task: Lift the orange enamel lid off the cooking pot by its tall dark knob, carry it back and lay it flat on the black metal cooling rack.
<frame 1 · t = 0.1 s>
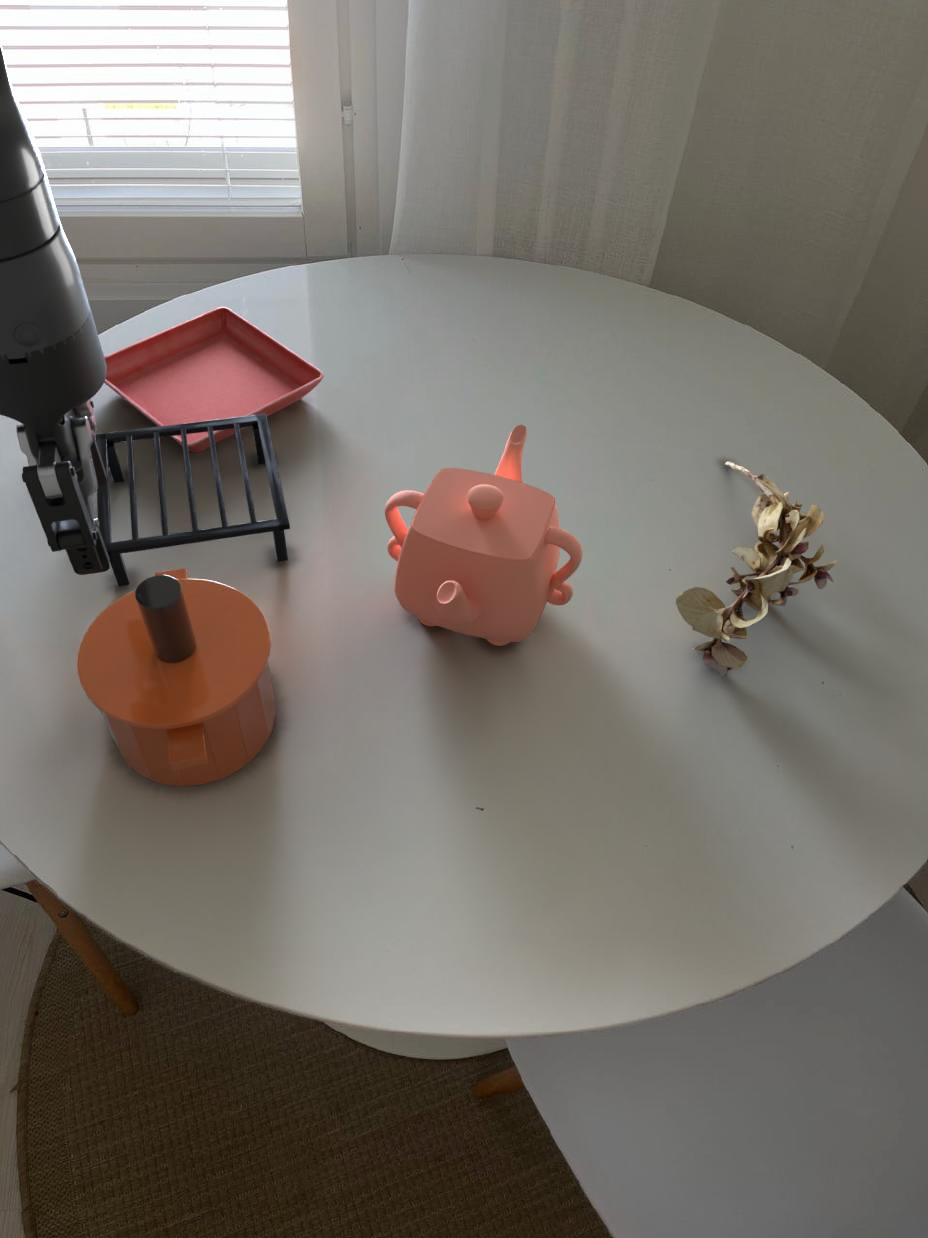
hand: (92, 525, 62), 17 cm above the table, tool pointing down, fingers open, 8 cm apart
lid: (176, 651, 65), point 8 cm above the table, touching pot
artificial flower: (743, 568, 86), on the table
plant saucer: (211, 396, 99), on the table
teapot: (475, 602, 82), on the table
pot: (196, 717, 72), on the table
rack: (198, 517, 86), on the table
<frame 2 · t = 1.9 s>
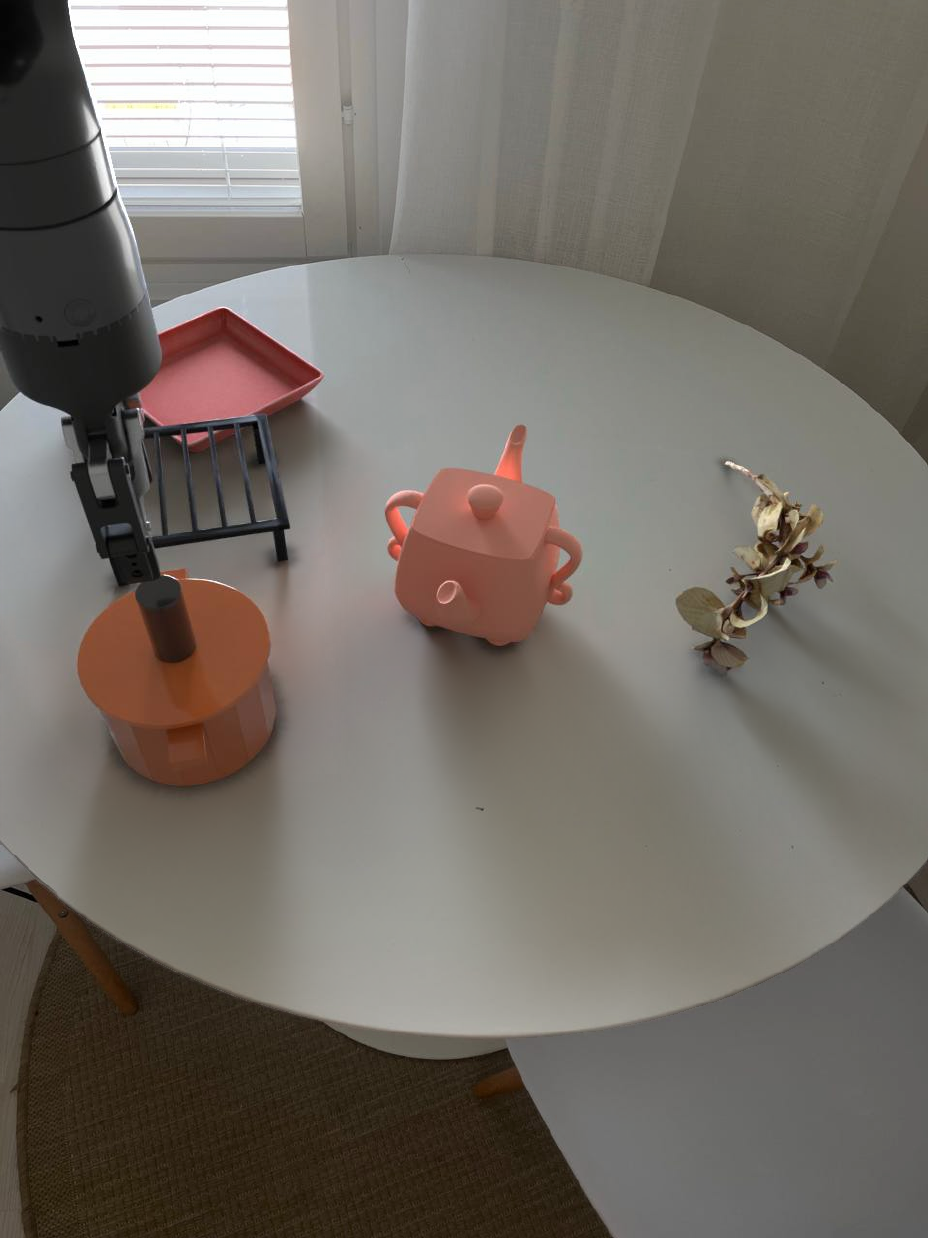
hand: (139, 528, 56), 21 cm above the table, tool pointing down, fingers open, 8 cm apart
nothing on the table moved.
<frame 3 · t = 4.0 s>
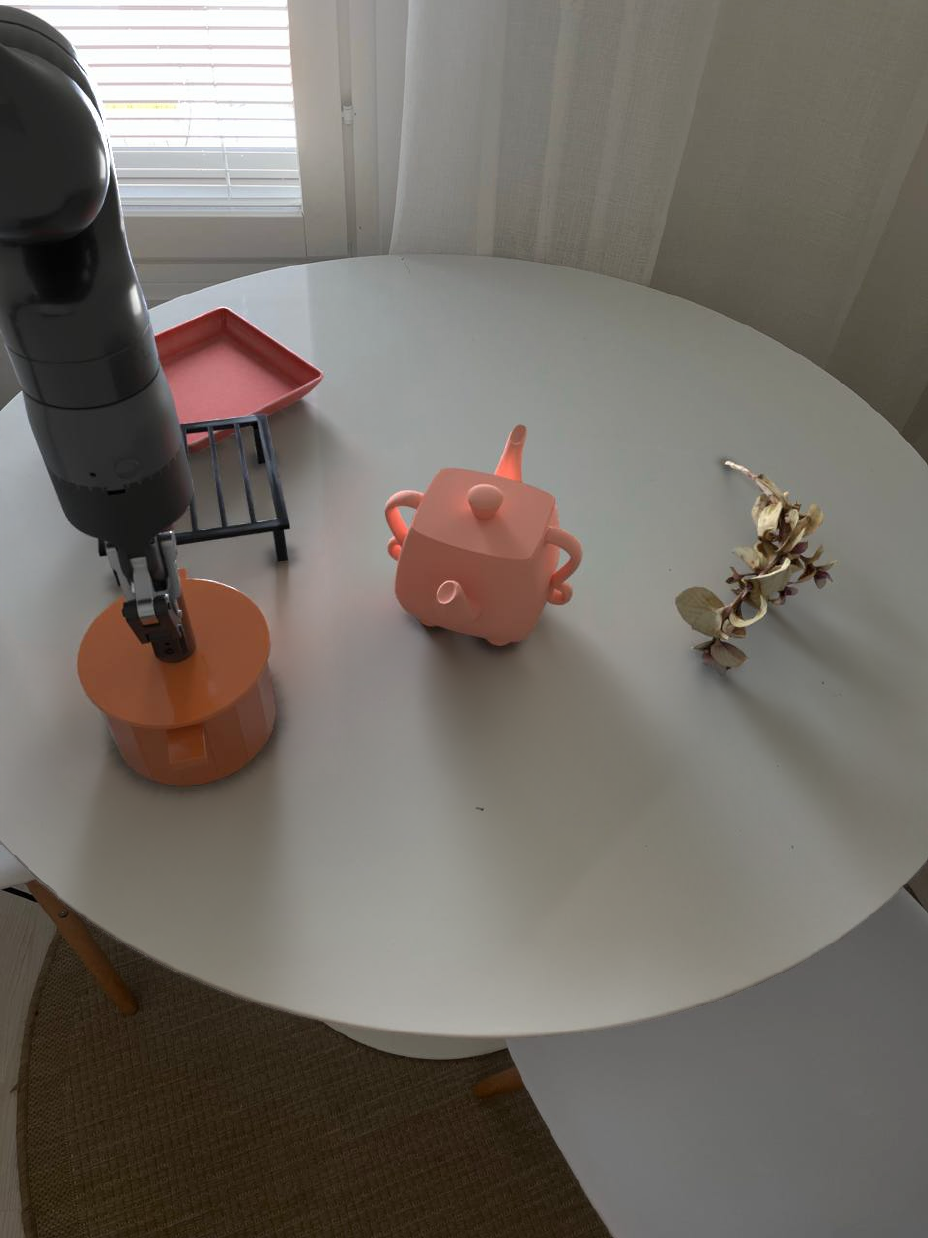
hand: (170, 632, 64), 11 cm above the table, tool pointing down, fingers closed on lid, 3 cm apart
lid: (176, 651, 65), point 9 cm above the table, touching gripper, pot
everything else where it was.
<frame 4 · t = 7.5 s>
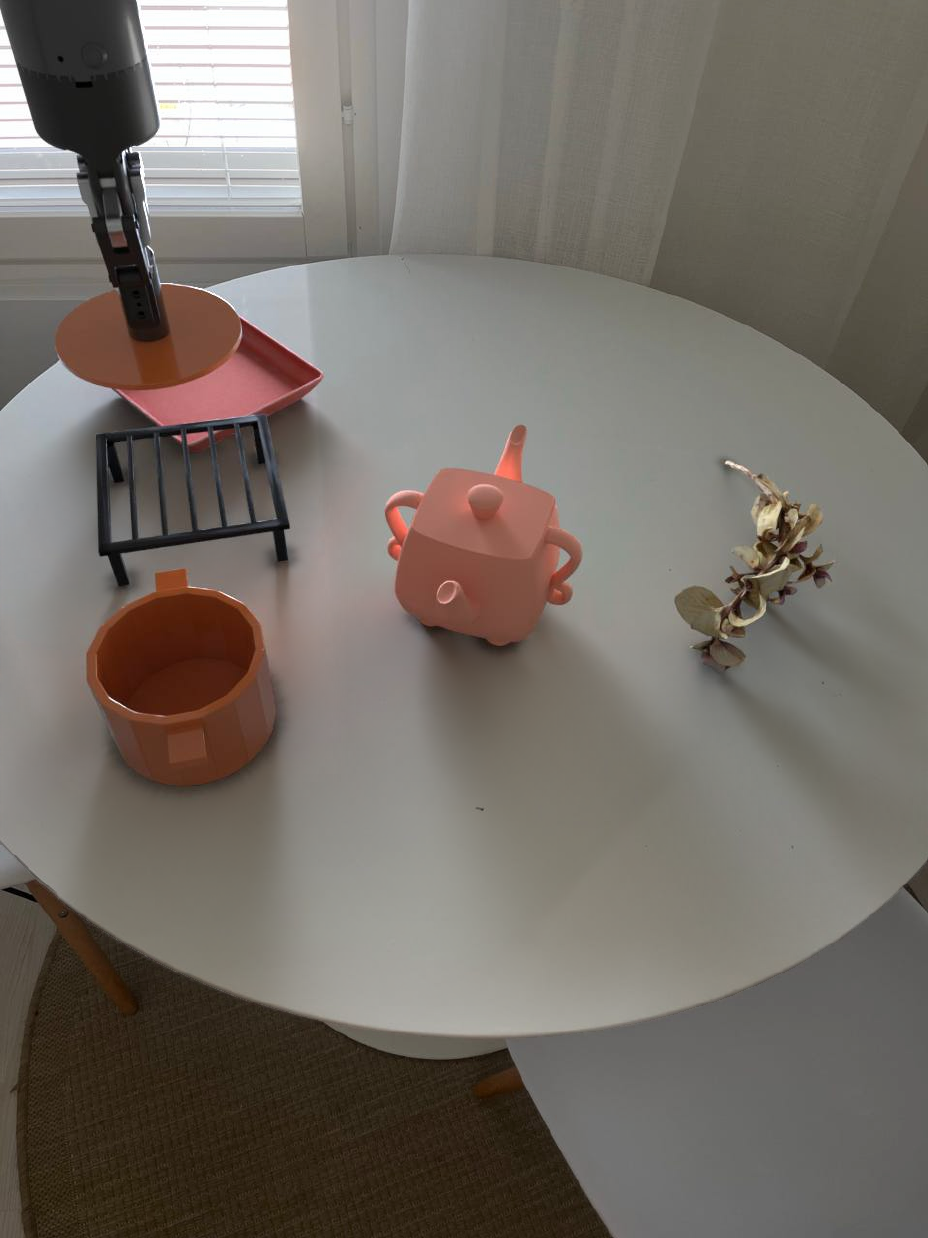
hand: (144, 310, 66), 24 cm above the table, tool pointing down, fingers closed on lid, 3 cm apart
lid: (150, 336, 68), point 22 cm above the table, touching gripper
everything else where it was.
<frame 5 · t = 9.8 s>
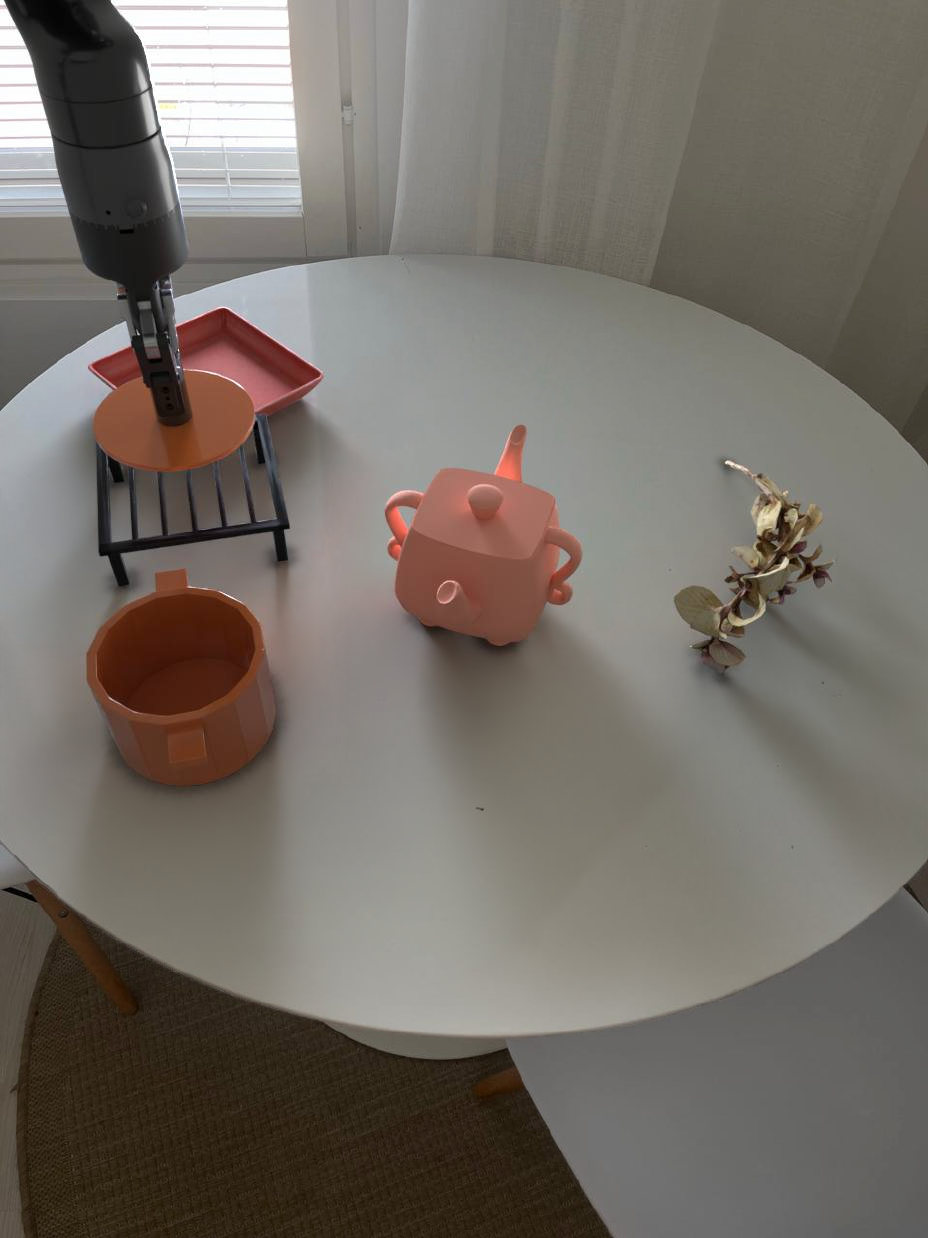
hand: (170, 399, 76), 14 cm above the table, tool pointing down, fingers closed on lid, 3 cm apart
lid: (175, 420, 78), point 11 cm above the table, touching gripper
everything else where it was.
when the fingers open (8 cm above the table, at t = 11.4 s): lid stays where it is, resting on rack.
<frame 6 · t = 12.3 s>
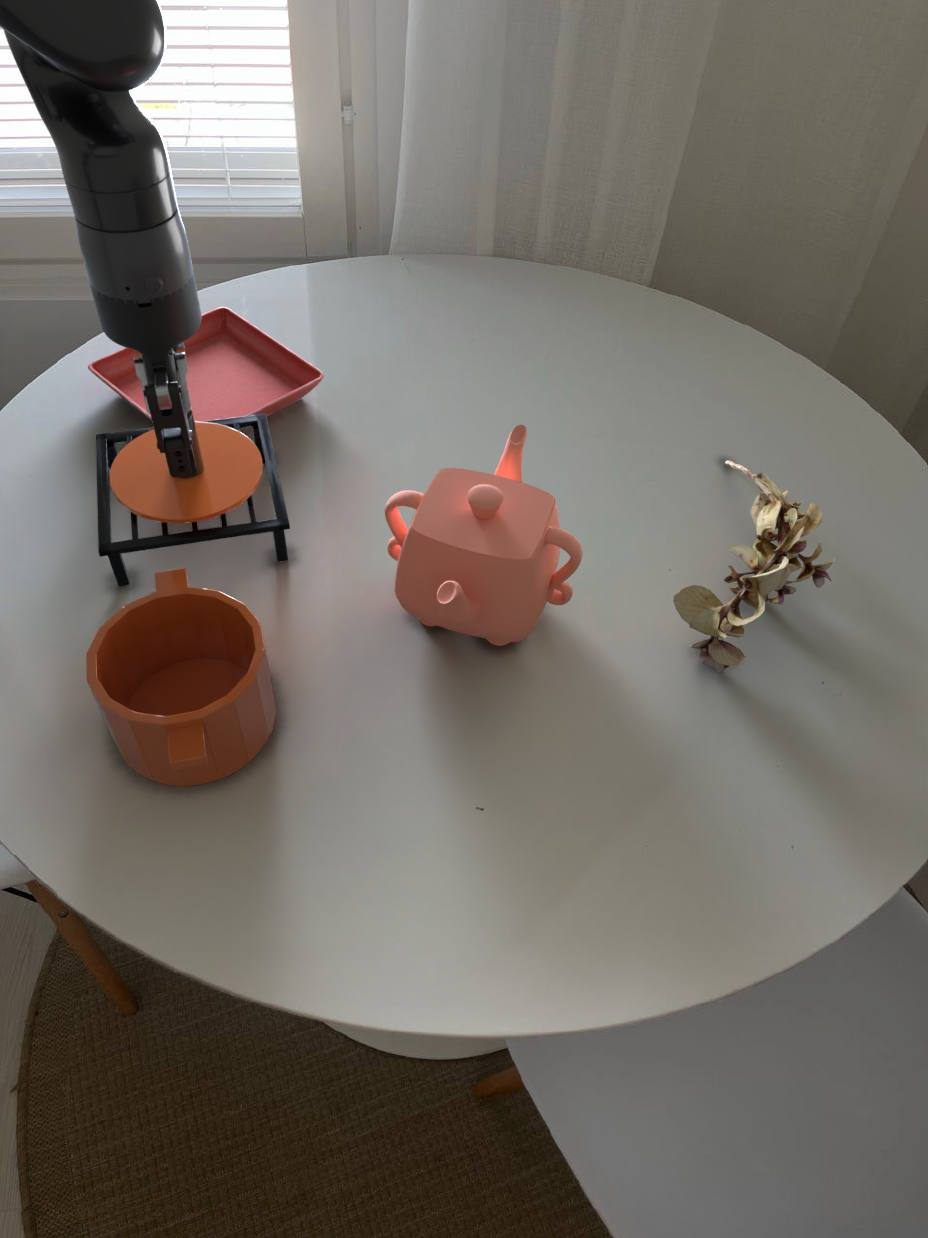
hand: (180, 442, 80), 9 cm above the table, tool pointing down, fingers open, 8 cm apart
lid: (187, 472, 82), point 6 cm above the table, touching rack
everything else where it was.
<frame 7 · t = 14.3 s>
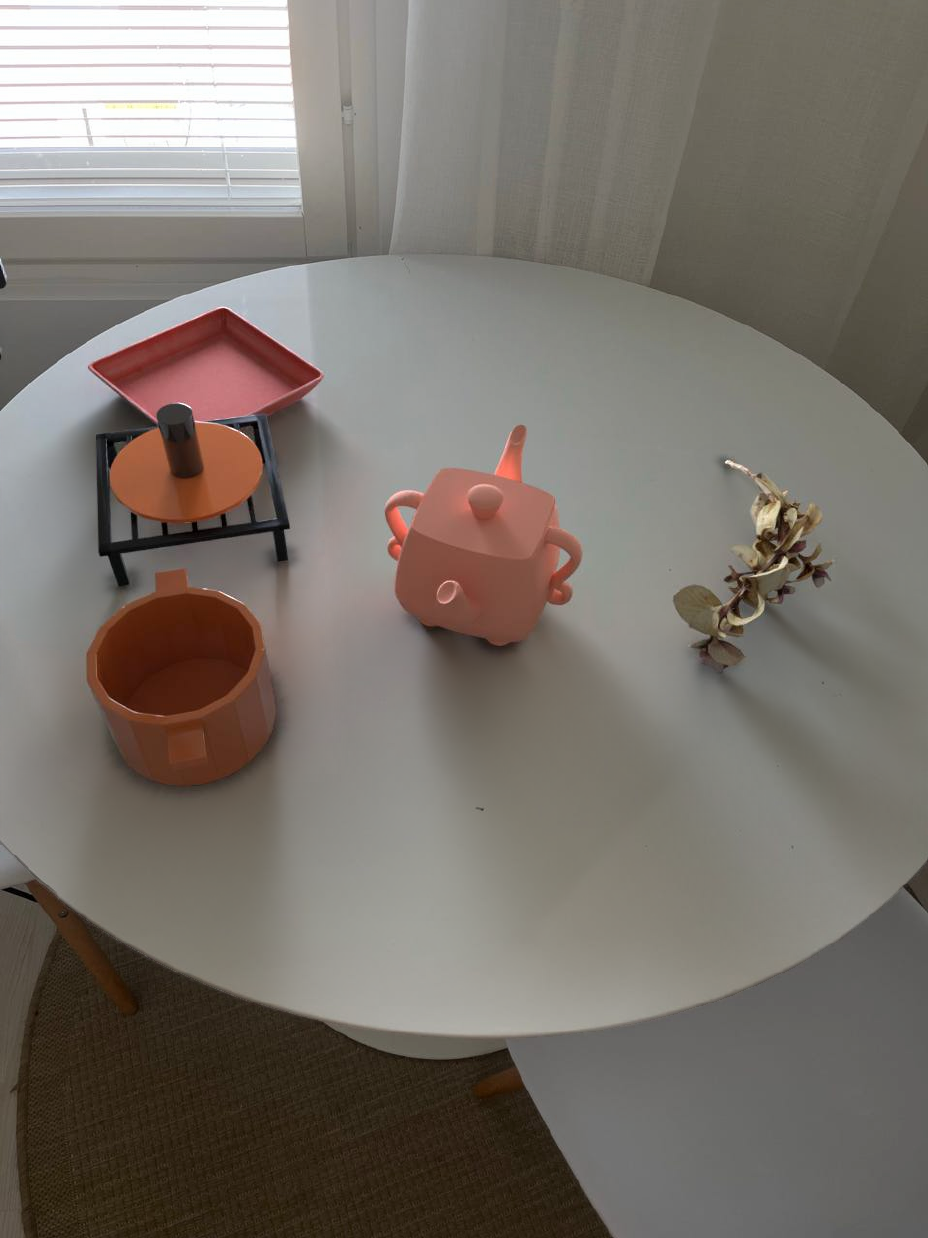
nothing on the table moved.
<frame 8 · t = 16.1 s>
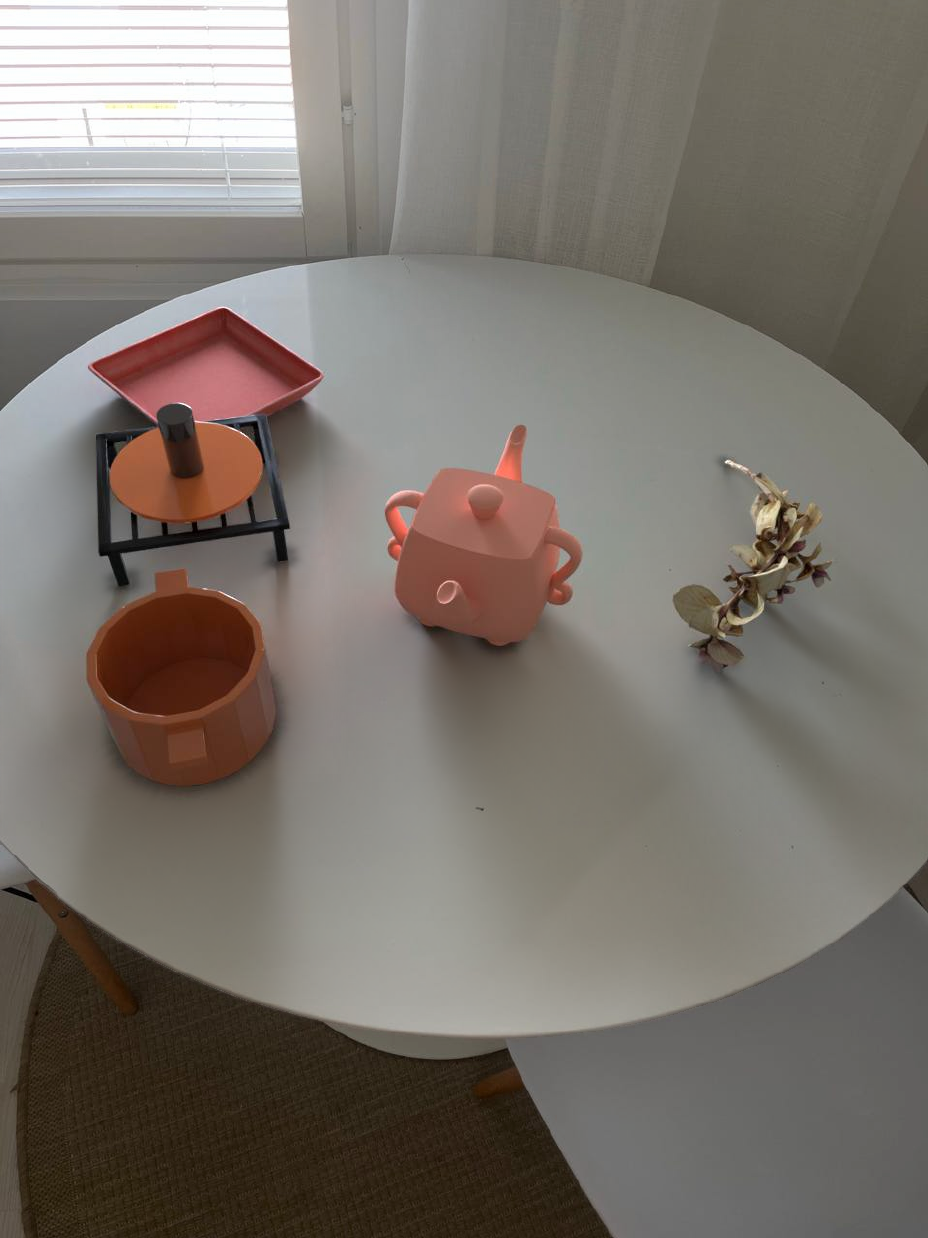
nothing on the table moved.
at the end: lid 0.0 cm off-centre on the rack, point 5.6 cm above the rack's base; lid tilted 0°; the gripper is holding nothing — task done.
